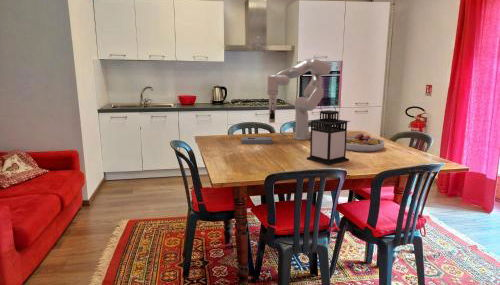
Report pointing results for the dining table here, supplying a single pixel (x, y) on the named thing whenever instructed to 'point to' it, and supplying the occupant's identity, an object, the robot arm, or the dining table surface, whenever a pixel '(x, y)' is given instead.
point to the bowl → (363, 143)
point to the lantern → (328, 139)
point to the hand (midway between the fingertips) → (272, 118)
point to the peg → (271, 119)
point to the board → (256, 140)
